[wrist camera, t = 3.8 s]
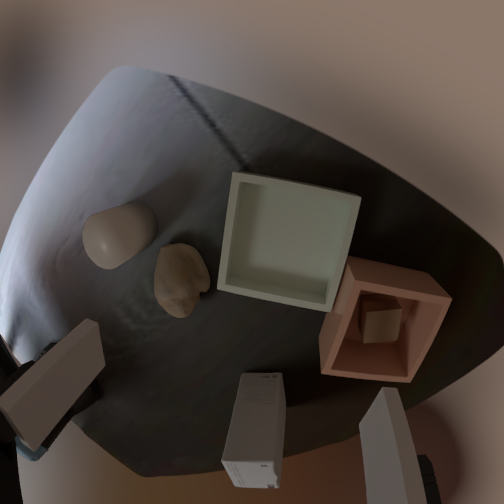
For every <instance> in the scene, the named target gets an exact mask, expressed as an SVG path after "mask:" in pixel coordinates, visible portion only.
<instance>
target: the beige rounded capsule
mask: <svg viewBox="0 0 504 504" xmlns="http://www.w3.org/2000/svg"><path fill="white" fill-rule="evenodd" d="M156 235H157V222H156V219H155V216H154V214H153V213H152V211H151V210H150V209H149V208H148V207H147V206H146V205H144V204H142V203H140V202H130V203H127V204H124V205H120V206H117V207H114V208H111V209H108V210H105V211H102V212H99V213H96V214H94V215H92V216H90V217H89V218H88V219H87V221H86V223H85V225H84V228H83V233H82V238H83V244H84V248H85V251H86V253H87V255H88V256H89V258H90V259H91V260H92V261H93V262H94V263H95V264H96V265H97V266H99V267H101V268H103V269H114V268H116V267H118V266H120V265H121V264H123V263H124V262H126V261H127V260H129V259H130V258H132V257H133V256H135V255H136V254H138V253H139V252H141V251H143V250H144V249H146V248H147V247H149V246H150V245H151V244H152V243H153V242H154V240H155V238H156Z"/></svg>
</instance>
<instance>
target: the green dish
mask: <svg viewBox="0 0 504 504" xmlns="http://www.w3.org/2000/svg"><path fill="white" fill-rule="evenodd" d="M360 202H361V197H360V196H358V195H356V194H354V193H350V192H346V191H341V190H337V189H332V188H328V187H323V186H319V185H314V184H309V183H304V182H299V181H294V180H289V179H284V178H279V177H273V176H268V175H262V174H256V173H250V172H244V171H235V172H233V173H232V180H231V187H230V193H229V200H228V207H227V214H226V222H225V229H224V236H223V244H222V252H221V259H220V267H219V275H218V284H217V289H218V290H222V291H227V292H231V293H236V294H241V295H245V296H250V297H254V298H259V299H264V300H269V301H274V302H279V303H284V304H289V305H294V306H299V307H304V308H309V309H314V310H320V311H325V312H331V309H332V306H333V303H334V300H335V296H336V293H337V290H338V286H339V283H340V280H341V276H342V273H343V269H344V266H345V262H346V258H347V255H348V251H349V247H350V243H351V240H352V236H353V232H354V228H355V223H356V219H357V215H358V211H359V206H360Z"/></svg>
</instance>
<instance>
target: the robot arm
mask: <svg viewBox="0 0 504 504" xmlns="http://www.w3.org/2000/svg"><path fill="white" fill-rule="evenodd" d="M104 367H105V360H104V354H103V349H102V343H101V337H100V331H99V324H98V323H97V322H95V321H92V320H90V319H87V318H86V319H85V320H84V321H82V322H81V323H80V324H79V325H78V326H77V327H75V328H74V329H73V330H72V331H71V332H70V333H68V334H67V335H66V336H65V337H64V338H63V339H62V340H60V341H59V342H58V343H57V344H49V345H48V346H46V347H45V348H44V349H43V350H42V351H41V353H40V355H39V358H38V359H37V361H36V362H34V361H33V360H31V361H29V362H27V363H24V364H22V365H21V366H20V367H18V365H17V364H16V362H15V361H14V359H13V357H12V356H11V354H10V352H9V351H8V349H7V347H6V346H5V344H4V342H3V340H2V338H1V335H0V504H23V500H22V494H21V488H20V481H19V474H18V463H17V453H19V454H20V455H22V456H23V457H25V458H26V459H28V460H30V461H37V460H39V459H40V457H42V456H43V455H44V453H45V452H46V451H48V448H49V447H50V446H51V445H52V443H53V442H54V441H55V439H56V438H57V436H58V435H59V434H60V433H61V431H62V430H63V428H64V427H65V426H66V424H67V423H68V422H69V421H70V420H71V418H72V417H73V416H75V415H77V414H78V413H80V412H82V411H83V410H85V409H87V408H88V407H91V406H92V405H93V404H94V403H95V402H96V401H97V399H98V398H99V396H100V390H99V387H98V384H97V382H96V380H95V377H96V376H97V375H98V374H99V372H100V371H101V370H102V369H103V368H104ZM359 428H360V434H361V443H362V451H363V460H364V469H365V479H366V491H367V504H442V503H441V499H440V494H439V490H438V485H437V484H436V482H437V481H436V477H435V476H434V474H435V473H434V470H433V466H432V463H431V461H430V460H429V459H428V458H427V456H426V455H416V452H415V448H414V444H413V440H412V437H411V433H410V430H409V426H408V422H407V419H406V416H405V412H404V409H403V406H402V403H401V399H400V396H399V393H398V390H397V388H387V387H382V389H381V390H380V392H379V394H378V395H377V397H376V399H375V400H374V402H373V404H372V405H371V407H370V408H369V410H368V412H367V413H366V415H365V416H364V418H363V419H362V421H361V422H360V424H359Z"/></svg>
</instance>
